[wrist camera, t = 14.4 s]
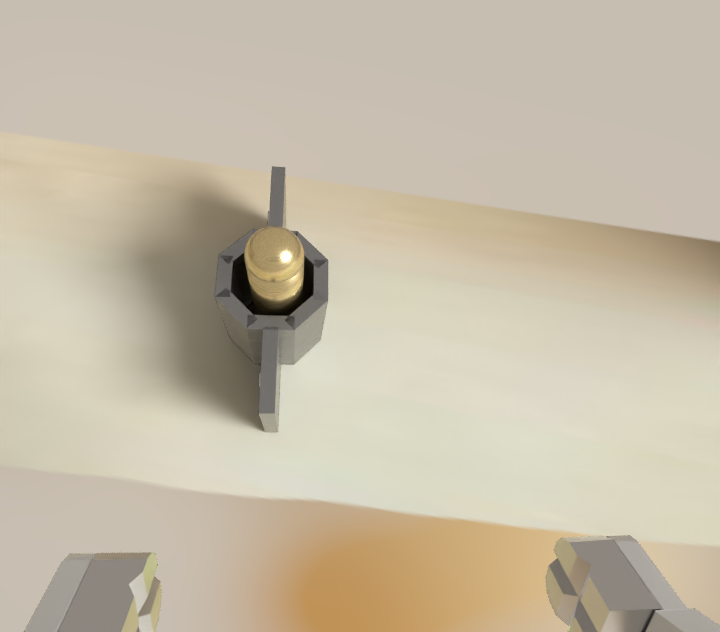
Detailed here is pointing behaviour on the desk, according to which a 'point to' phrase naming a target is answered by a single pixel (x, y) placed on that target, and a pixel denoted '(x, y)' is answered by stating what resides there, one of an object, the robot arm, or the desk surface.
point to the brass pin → (275, 271)
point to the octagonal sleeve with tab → (265, 332)
